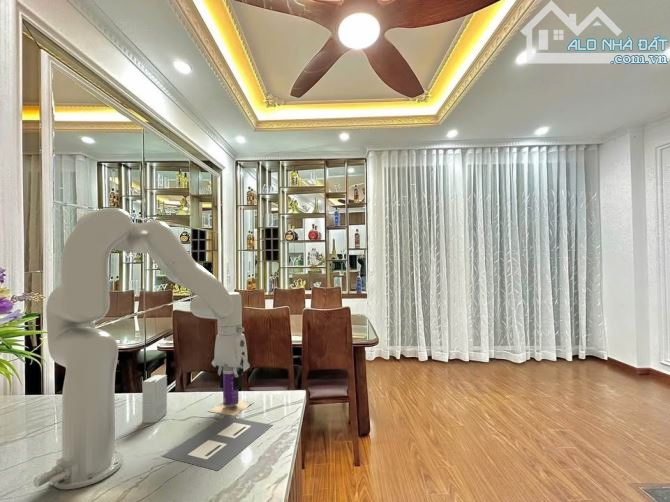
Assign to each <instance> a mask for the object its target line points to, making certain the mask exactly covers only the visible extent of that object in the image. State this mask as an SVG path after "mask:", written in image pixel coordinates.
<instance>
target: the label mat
mask: <svg viewBox="0 0 670 502" xmlns="http://www.w3.org/2000/svg"><path fill="white" fill-rule="evenodd" d="M272 426H273V424H271V423H265V422H259V421H253V420H248V419H243V418H237V417H236V418H235V417H233V416H232V417H231V416H228V415H224V416H223V417H221V418H219V419H218V420H216V421H214V422H213V423H212V424H210V425H208V426H207V427H206V428H204V429H202V430H200V431H199V432H198V433H196V434H195V435H193V436H191V437H190V438H188V439H186V440H185V441H183V442H182V443H180V444H178V445H177V446H175V447H174V448H172V449H171V450H169V451H167V452H166V453H164V454H163V455H162V457H164V458H166V459H167V458H168V459H172V460H175V461H179V462H183V463H186V464H191V465H195V466H198V467H202V468H206V469H210V470H213V471H217V472H218V471H219V470H220V469H222V468H223V467H224V466H225V465H227V464H228V463H230V461H231V460H233V459H234V458H235V457H236V456H238V455H239V454H240V453H241V452H242V451H244V450H245V449H246V448H247V447H249V446H250V445H251V444H252V443H253V442H255V441H256V440H257V439H258V438H260V437H261V435H263V434H264V433H265V432H267V431H268V430H269V429H270V428H271V427H272Z"/></svg>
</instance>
